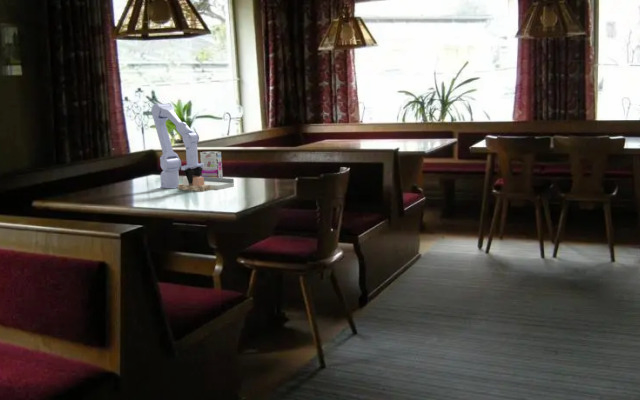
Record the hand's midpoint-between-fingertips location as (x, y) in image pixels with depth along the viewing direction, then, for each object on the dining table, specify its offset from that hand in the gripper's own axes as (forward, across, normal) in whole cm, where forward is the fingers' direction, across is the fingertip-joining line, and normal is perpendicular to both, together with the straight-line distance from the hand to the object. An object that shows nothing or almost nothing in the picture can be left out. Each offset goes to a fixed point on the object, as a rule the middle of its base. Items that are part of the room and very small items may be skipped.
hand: (193, 182), depth 352 cm
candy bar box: (+4, +27, +13) cm, 30 cm away
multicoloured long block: (+4, 0, 0) cm, 4 cm away
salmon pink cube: (+1, 0, -4) cm, 4 cm away
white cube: (+1, 0, +4) cm, 4 cm away
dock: (+4, +11, 0) cm, 12 cm away
